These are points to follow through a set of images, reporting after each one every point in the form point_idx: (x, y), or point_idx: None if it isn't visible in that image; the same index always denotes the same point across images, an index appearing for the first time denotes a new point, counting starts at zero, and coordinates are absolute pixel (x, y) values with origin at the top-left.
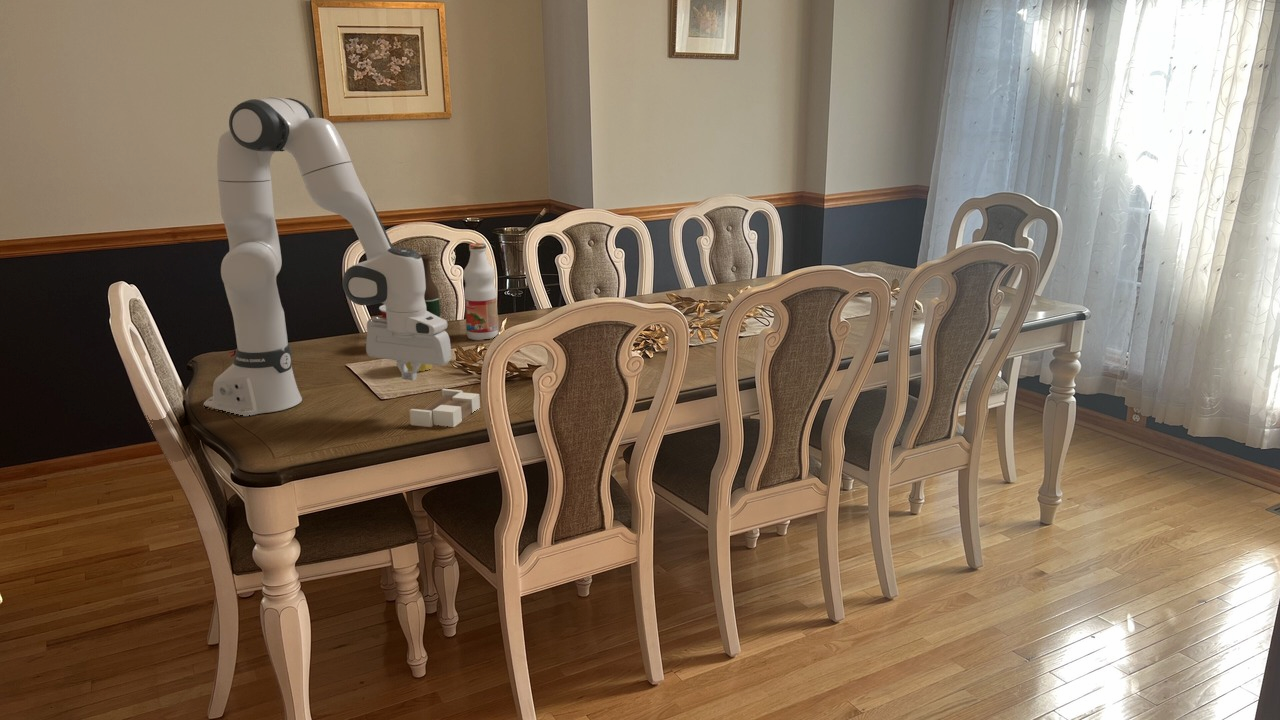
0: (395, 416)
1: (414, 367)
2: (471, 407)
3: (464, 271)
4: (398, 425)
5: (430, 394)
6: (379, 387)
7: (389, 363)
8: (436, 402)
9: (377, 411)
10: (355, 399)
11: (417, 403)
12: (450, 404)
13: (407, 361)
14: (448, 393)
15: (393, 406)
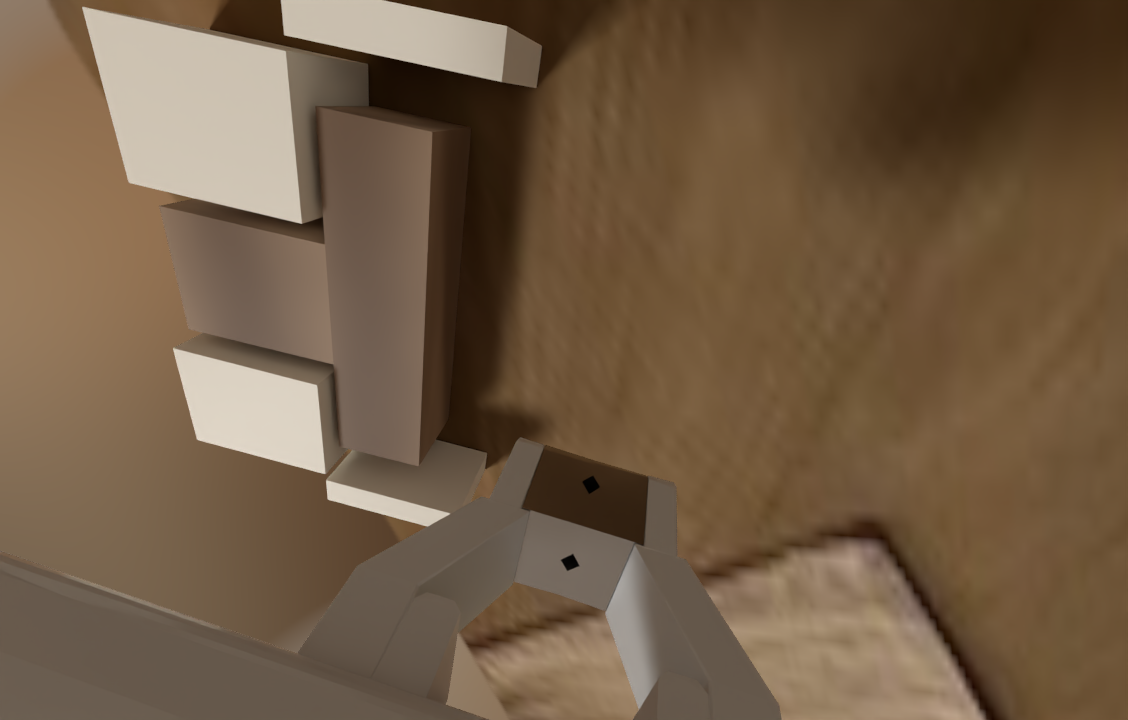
0: (720, 245)
1: (392, 567)
2: None
3: None
4: (643, 23)
5: None
6: (907, 679)
7: None
8: (403, 323)
9: (881, 344)
10: (1064, 549)
11: (633, 468)
12: (280, 277)
13: (460, 716)
14: (418, 489)
15: (775, 429)
